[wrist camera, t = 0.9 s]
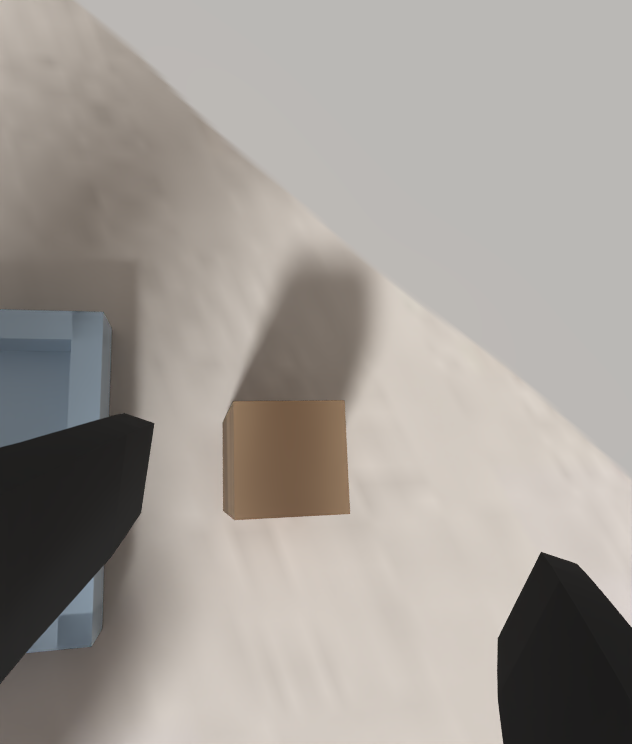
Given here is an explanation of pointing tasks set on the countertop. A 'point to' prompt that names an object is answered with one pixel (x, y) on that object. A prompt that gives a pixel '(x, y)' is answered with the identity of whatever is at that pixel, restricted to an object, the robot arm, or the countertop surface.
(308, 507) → the tan wooden block
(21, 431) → the blue shallow rectangular tray
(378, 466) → the countertop surface
